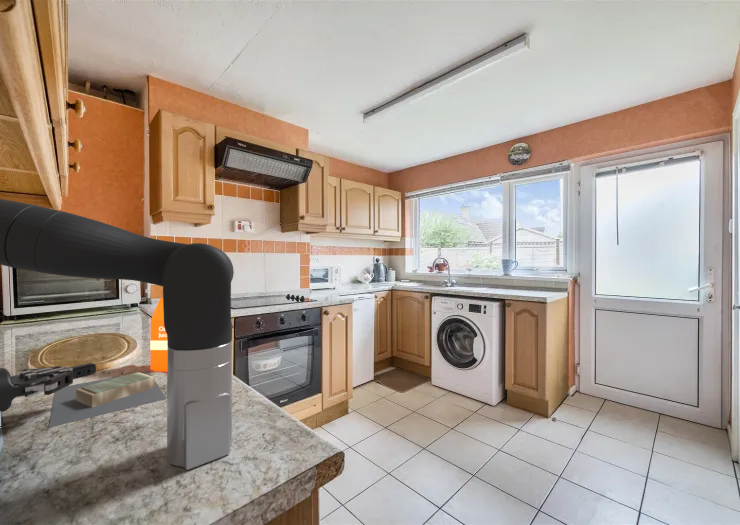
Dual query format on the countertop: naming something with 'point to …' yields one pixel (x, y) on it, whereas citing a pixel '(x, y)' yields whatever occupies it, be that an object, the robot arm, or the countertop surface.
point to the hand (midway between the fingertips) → (93, 367)
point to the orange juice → (158, 340)
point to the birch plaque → (114, 389)
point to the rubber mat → (73, 410)
